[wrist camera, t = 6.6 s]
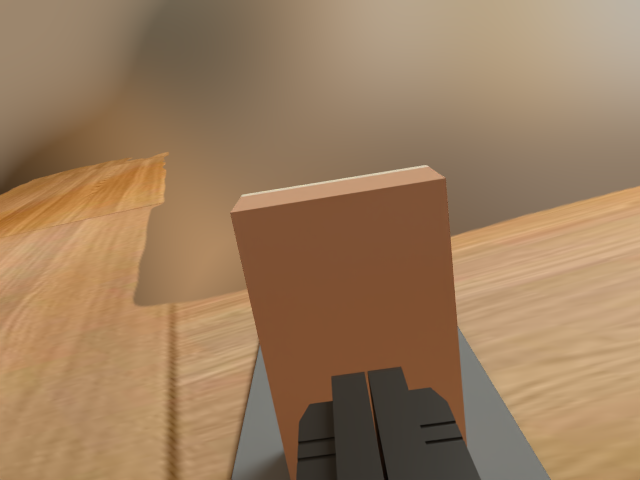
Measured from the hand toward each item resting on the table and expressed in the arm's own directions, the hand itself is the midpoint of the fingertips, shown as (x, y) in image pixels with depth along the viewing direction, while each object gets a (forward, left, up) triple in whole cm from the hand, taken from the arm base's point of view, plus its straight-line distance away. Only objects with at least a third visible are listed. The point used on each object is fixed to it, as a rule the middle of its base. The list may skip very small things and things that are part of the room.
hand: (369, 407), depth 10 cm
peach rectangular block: (0, -12, -13) cm, 18 cm away
